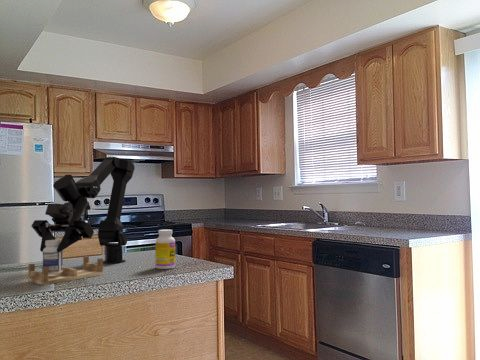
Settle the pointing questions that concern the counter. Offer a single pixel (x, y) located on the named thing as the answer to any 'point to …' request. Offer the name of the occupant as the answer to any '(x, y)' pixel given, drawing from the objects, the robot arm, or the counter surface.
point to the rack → (66, 273)
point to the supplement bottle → (165, 250)
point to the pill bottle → (52, 257)
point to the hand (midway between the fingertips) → (49, 251)
